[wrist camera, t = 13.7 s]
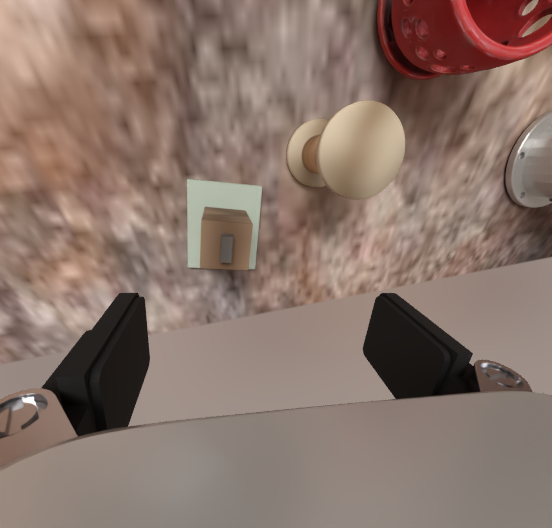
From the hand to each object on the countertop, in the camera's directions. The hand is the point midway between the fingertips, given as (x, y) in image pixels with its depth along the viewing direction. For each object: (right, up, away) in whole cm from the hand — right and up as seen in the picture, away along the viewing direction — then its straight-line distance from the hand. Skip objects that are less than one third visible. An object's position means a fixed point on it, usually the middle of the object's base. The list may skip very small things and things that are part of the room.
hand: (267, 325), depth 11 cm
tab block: (-6, +7, +20) cm, 22 cm away
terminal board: (-6, +7, +21) cm, 22 cm away
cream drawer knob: (+5, +15, +20) cm, 25 cm away
